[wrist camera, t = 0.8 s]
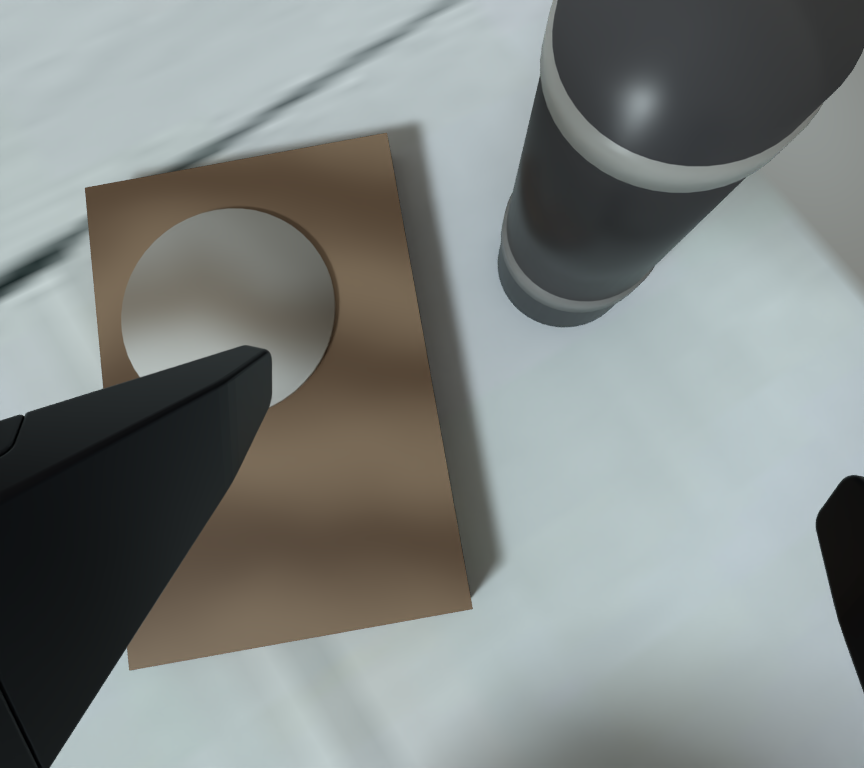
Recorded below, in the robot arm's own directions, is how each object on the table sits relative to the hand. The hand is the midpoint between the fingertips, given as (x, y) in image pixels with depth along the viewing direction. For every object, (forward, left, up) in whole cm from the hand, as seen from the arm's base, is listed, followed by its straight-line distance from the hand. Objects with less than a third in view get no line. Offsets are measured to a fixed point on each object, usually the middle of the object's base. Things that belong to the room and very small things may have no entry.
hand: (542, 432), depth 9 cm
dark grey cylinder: (+7, -4, -13) cm, 15 cm away
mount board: (+4, +8, -13) cm, 15 cm away
